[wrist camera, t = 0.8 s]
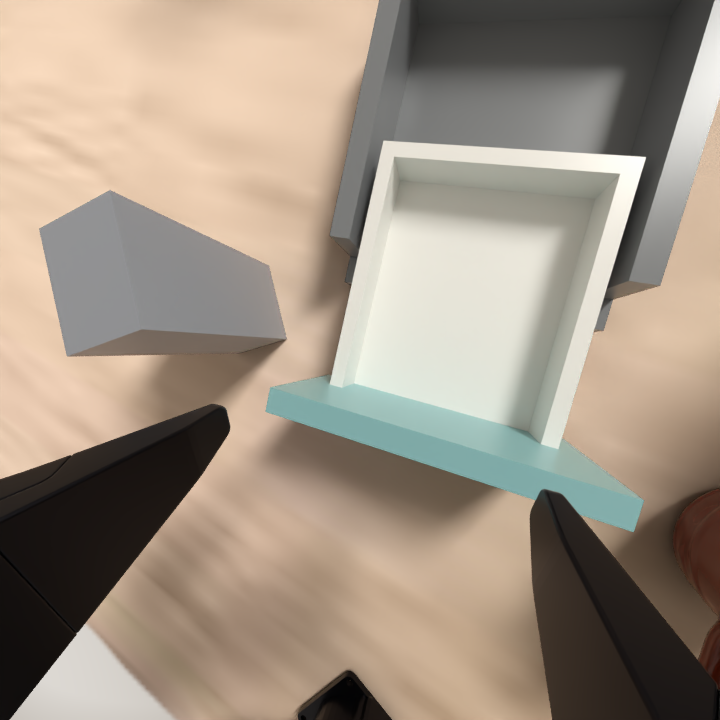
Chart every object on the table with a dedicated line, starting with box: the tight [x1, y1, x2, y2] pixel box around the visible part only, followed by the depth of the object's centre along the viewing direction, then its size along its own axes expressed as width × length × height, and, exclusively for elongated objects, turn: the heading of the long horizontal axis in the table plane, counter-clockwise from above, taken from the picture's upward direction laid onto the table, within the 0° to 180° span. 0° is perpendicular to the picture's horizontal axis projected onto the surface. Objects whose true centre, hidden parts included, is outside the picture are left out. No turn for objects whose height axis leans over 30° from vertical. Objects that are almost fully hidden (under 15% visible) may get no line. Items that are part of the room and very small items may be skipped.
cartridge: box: [39, 190, 287, 356], centre depth 19 cm, size 4×6×12 cm
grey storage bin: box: [330, 0, 720, 332], centre depth 17 cm, size 18×16×5 cm
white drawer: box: [266, 141, 646, 532], centre depth 16 cm, size 15×15×8 cm
